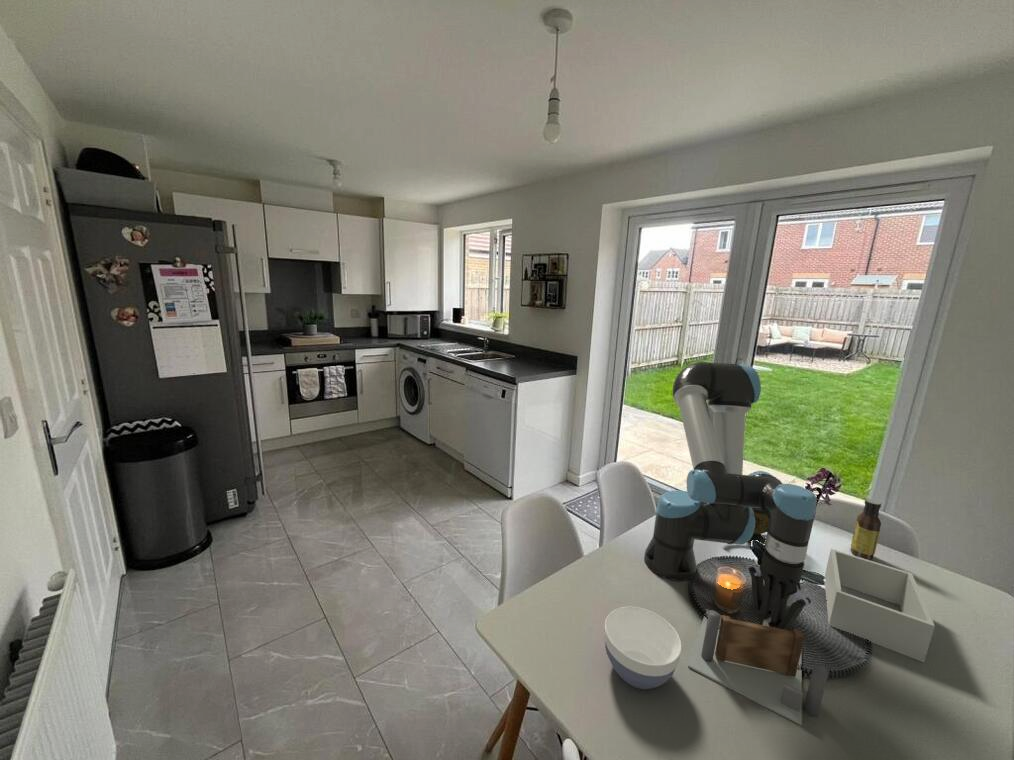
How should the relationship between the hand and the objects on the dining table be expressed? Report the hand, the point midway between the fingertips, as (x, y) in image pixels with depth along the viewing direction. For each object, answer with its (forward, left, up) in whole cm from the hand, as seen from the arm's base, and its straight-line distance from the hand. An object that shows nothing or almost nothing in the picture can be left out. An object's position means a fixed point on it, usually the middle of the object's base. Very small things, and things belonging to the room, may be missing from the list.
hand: (765, 645), depth 95 cm
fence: (-2, -3, -3) cm, 5 cm away
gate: (-2, -5, -2) cm, 6 cm away
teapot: (-10, +55, -4) cm, 56 cm away
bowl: (-23, -22, -4) cm, 32 cm away
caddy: (+22, +35, -3) cm, 42 cm away
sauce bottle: (+24, +71, -4) cm, 75 cm away
